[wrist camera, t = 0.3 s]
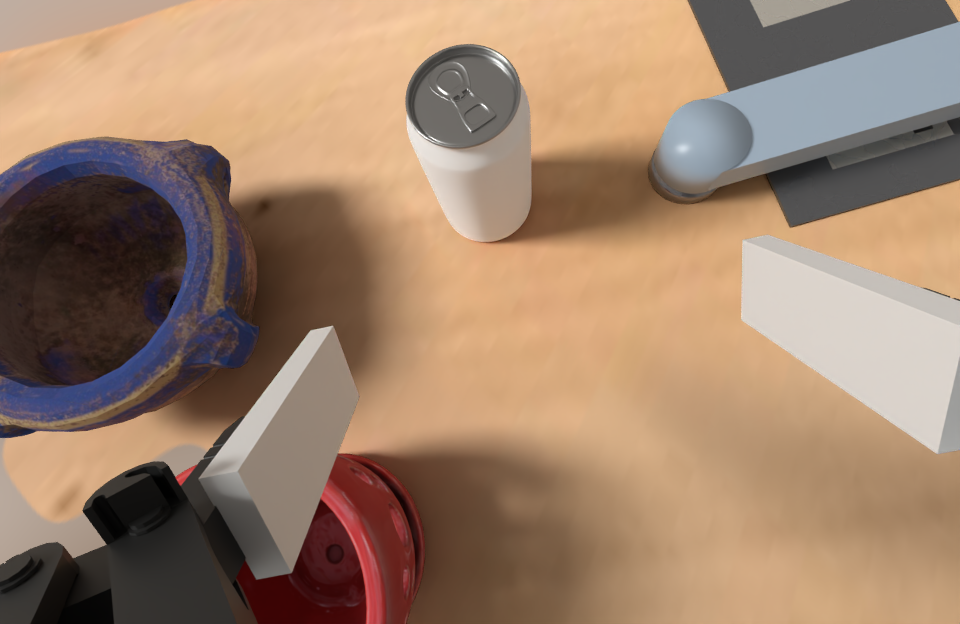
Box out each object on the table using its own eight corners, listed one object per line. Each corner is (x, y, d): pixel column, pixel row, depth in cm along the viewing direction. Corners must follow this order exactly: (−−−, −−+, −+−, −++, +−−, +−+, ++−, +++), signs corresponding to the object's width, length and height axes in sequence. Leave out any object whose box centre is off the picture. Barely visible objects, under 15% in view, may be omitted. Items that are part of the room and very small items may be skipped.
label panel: (1036, 157, 29) (1041, 155, 29) (789, 227, 30) (791, 225, 30) (872, -114, 34) (874, -117, 34) (666, -46, 35) (667, -49, 35)
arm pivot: (733, 192, 31) (740, 183, 30) (661, 212, 31) (666, 205, 30) (706, 130, 32) (713, 120, 31) (638, 151, 32) (642, 141, 31)
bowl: (313, 398, 32) (216, 397, 22) (84, 444, 33) (-103, 462, 23) (290, 173, 36) (198, 87, 26) (85, 223, 37) (-74, 159, 27)
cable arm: (1018, 100, 28) (1070, 68, 26) (668, 202, 30) (682, 182, 27) (979, 37, 30) (1025, -1, 27) (643, 138, 31) (654, 113, 28)
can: (499, 146, 34) (480, 12, 22) (549, 210, 32) (557, 103, 21) (428, 195, 34) (372, 86, 22) (475, 261, 32) (442, 182, 21)
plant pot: (454, 641, 28) (395, 816, 16) (254, 653, 29) (65, 822, 17) (436, 425, 30) (374, 439, 19) (254, 444, 32) (90, 468, 20)
